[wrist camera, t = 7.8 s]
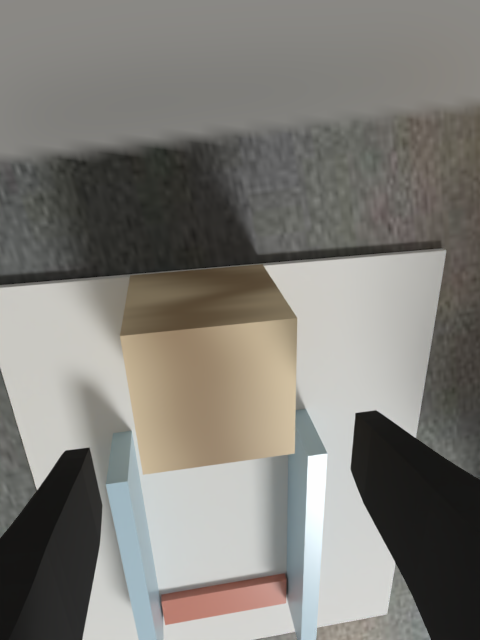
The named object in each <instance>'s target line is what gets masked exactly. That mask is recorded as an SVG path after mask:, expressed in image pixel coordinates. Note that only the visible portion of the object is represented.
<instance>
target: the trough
mask: <svg viewBox="0 0 480 640" xmlns="http://www.w3.org/2000/svg"><path fill="white" fill-rule="evenodd" d="M326 470H327V451H326V449H325V447H324V445H323V443H322V441H321V439H320V437H319V435H318V433H317V431H316V429H315V427H314V424H313V422H312V420H311V418H310V416H309V414H308V412H307V410H306V409H301V410H296V415H295V454H288V506H287V577H286V576H285V573H283V574H278V575H272V576H266V577H260V578H254V579H249V580H243V581H237V582H231V583H225V584H220V585H214V586H208V587H202V588H196V589H191V590H185V591H179V592H173V593H167V594H161V601H160V595H159V589H158V583H157V577H156V571H155V565H154V559H153V553H152V548H151V542H150V536H149V530H148V524H147V518H146V512H145V506H144V500H143V494H142V488H141V482H140V476H139V470H138V464H137V458H136V452H135V446H134V440H133V434H132V431H126V432H118V433H113V437H112V444H111V451H110V458H109V465H108V472H107V479H106V488H107V493H108V497H109V502H110V507H111V511H112V516H113V521H114V526H115V530H116V535H117V540H118V545H119V549H120V554H121V559H122V563H123V568H124V573H125V578H126V582H127V587H128V592H129V597H130V601H131V606H132V611H133V615H134V620H135V625H136V630H137V634H138V639H139V640H164V635H163V615H164V621H165V625H169V624H174V623H180V622H185V621H191V620H196V619H202V618H208V617H213V616H219V615H224V614H230V613H235V612H241V611H246V610H252V609H257V608H263V607H268V606H274V605H279V604H285V603H286V597H287V601H288V605H289V609H290V613H291V617H292V621H293V624H294V628H295V632H296V636H297V640H316V633H317V617H318V601H319V584H320V568H321V551H322V535H323V519H324V502H325V486H326ZM161 603H162V607H161ZM162 609H163V613H162Z"/></svg>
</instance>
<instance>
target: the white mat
mask: <svg viewBox="0 0 480 640" xmlns="http://www.w3.org/2000/svg"><path fill="white" fill-rule="evenodd" d="M446 251H447V250H445V249H443V248H440V249H428V250H416V251H404V252H392V253H380V254H368V255H356V256H344V257H332V258H320V259H308V260H296V261H284V262H272V263H260V264H263V266H264V267H265V269H266V270H267V272H268V274H269V275H270V277H271V278H272V280H273V281H274V283H275V284H276V286H277V287H278V289H279V290H280V292H281V294H282V295H283V297H284V298H285V300H286V301H287V303H288V304H289V306H290V307H291V309H292V310H293V312H294V314H295V315H296V317H297V365H296V410H301V409H306V410H307V412H308V414H309V416H310V418H311V420H312V422H313V424H314V427H315V429H316V431H317V433H318V435H319V437H320V439H321V441H322V443H323V445H324V447H325V449H326V451H327V470H326V486H325V502H324V519H323V535H322V551H321V568H320V584H319V601H318V617H317V627H323V626H328V625H333V624H338V623H344V622H349V621H354V620H360V619H365V618H370V617H375V616H381V615H386V614H387V611H388V605H389V599H390V593H391V587H392V581H393V575H394V568H395V561H394V559H393V557H392V555H391V554H390V552H389V550H388V548H387V546H386V544H385V543H384V541H383V539H382V537H381V535H380V533H379V531H378V530H377V528H376V526H375V524H374V522H373V520H372V518H371V517H370V515H369V513H368V511H367V509H366V507H365V505H364V503H363V501H362V498H361V496H360V493H359V491H358V488H357V486H356V483H355V480H354V478H353V475H352V472H351V470H350V468H351V457H352V446H353V435H354V424H355V413H359V412H367V411H375V410H377V411H378V412H380V413H381V414H383V415H384V416H386V417H387V418H388V419H390V420H391V421H393V422H394V423H395V424H397V425H398V426H400V427H401V428H402V429H404V430H405V431H406V432H408V433H409V434H411V435H412V436H413V437H415V438H416V434H417V428H418V422H419V416H420V410H421V403H422V397H423V391H424V385H425V379H426V373H427V367H428V361H429V355H430V348H431V342H432V336H433V330H434V324H435V318H436V312H437V306H438V299H439V293H440V287H441V281H442V275H443V269H444V263H445V257H446ZM260 264H248V265H260ZM248 265H236V266H248ZM236 266H224V267H236ZM224 267H212V268H200V269H188V270H176V271H164V272H152V273H140V274H128V275H116V276H104V277H92V278H80V279H68V280H56V281H44V282H32V283H20V284H8V285H0V368H1V372H2V375H3V378H4V382H5V385H6V388H7V392H8V395H9V398H10V402H11V405H12V408H13V412H14V415H15V418H16V422H17V425H18V428H19V432H20V435H21V438H22V442H23V445H24V448H25V452H26V455H27V458H28V462H29V465H30V468H31V472H32V475H33V478H34V482H35V485H36V489H37V490H38V488H39V487H40V486H41V484H42V483H43V481H44V480H45V479H46V477H47V476H48V474H49V473H50V471H51V470H52V468H53V467H54V465H55V464H56V462H57V461H58V459H59V458H60V456H61V455H62V454H63V453H64V452H65V451H66V450H73V449H81V448H89V447H90V451H91V455H92V460H93V465H94V469H95V474H96V478H97V483H98V487H99V492H100V496H101V501H102V505H103V507H102V523H101V537H100V547H99V553H98V558H97V564H96V569H95V574H94V580H93V585H92V590H91V596H90V601H89V606H88V612H87V617H86V622H85V628H84V633H83V639H82V640H139V639H138V634H137V630H136V625H135V620H134V615H133V611H132V606H131V601H130V597H129V592H128V587H127V582H126V578H125V573H124V568H123V563H122V559H121V554H120V549H119V545H118V540H117V535H116V530H115V526H114V521H113V516H112V511H111V507H110V502H109V497H108V493H107V488H106V479H107V472H108V465H109V458H110V451H111V444H112V437H113V433H118V432H126V431H132V434H133V440H134V446H135V452H136V458H137V464H138V470H139V476H140V482H141V488H142V494H143V500H144V506H145V512H146V518H147V524H148V530H149V536H150V542H151V548H152V553H153V559H154V565H155V571H156V577H157V583H158V589H159V595H160V601H161V594H167V593H173V592H179V591H185V590H191V589H196V588H202V587H208V586H214V585H220V584H225V583H231V582H237V581H243V580H249V579H254V578H260V577H266V576H272V575H278V574H283V573H285V576H286V577H287V506H288V455H281V456H274V457H267V458H260V459H253V460H245V461H238V462H231V463H224V464H217V465H210V466H202V467H195V468H188V469H181V470H174V471H167V472H160V473H152V474H145V475H143V472H142V466H141V460H140V454H139V448H138V442H137V436H136V430H135V424H134V418H133V412H132V406H131V400H130V394H129V388H128V382H127V376H126V370H125V364H124V358H123V352H122V346H121V340H120V332H121V327H122V321H123V315H124V309H125V303H126V298H127V292H128V286H129V280H130V275H142V274H154V273H166V272H177V271H189V270H201V269H213V268H224ZM161 607H162V603H161ZM162 613H163V609H162ZM291 632H295V628H294V624H293V621H292V617H291V613H290V609H289V605H288V601H287V597H286V603H285V604H279V605H274V606H268V607H263V608H257V609H252V610H246V611H241V612H235V613H230V614H224V615H219V616H213V617H208V618H202V619H196V620H191V621H185V622H180V623H174V624H169V625H165V621H164V615H163V635H164V640H254V639H259V638H264V637H270V636H275V635H280V634H286V633H291Z"/></svg>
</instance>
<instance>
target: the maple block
mask: <svg viewBox="0 0 480 640" xmlns="http://www.w3.org/2000/svg"><path fill="white" fill-rule="evenodd" d="M120 340H121V346H122V352H123V358H124V364H125V370H126V376H127V382H128V388H129V394H130V400H131V406H132V412H133V418H134V424H135V430H136V436H137V442H138V448H139V454H140V460H141V466H142V472H143V475H145V474H152V473H160V472H167V471H174V470H181V469H188V468H195V467H202V466H210V465H217V464H224V463H231V462H238V461H245V460H253V459H260V458H267V457H274V456H281V455H288V454H295V415H296V365H297V317H296V315H295V314H294V312H293V310H292V309H291V307H290V306H289V304H288V303H287V301H286V300H285V298H284V297H283V295H282V294H281V292H280V290H279V289H278V287H277V286H276V284H275V283H274V281H273V280H272V278H271V277H270V275H269V274H268V272H267V270H266V269H265V267H264V266H263V264H260V265H248V266H236V267H224V268H213V269H201V270H189V271H177V272H166V273H154V274H142V275H130V280H129V286H128V292H127V298H126V303H125V309H124V315H123V321H122V327H121V332H120Z"/></svg>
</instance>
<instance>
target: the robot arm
mask: <svg viewBox="0 0 480 640" xmlns="http://www.w3.org/2000/svg"><path fill="white" fill-rule="evenodd" d="M350 470H351V472H352V475H353V478H354V480H355V483H356V486H357V488H358V491H359V493H360V496H361V498H362V501H363V503H364V505H365V507H366V509H367V511H368V513H369V515H370V517H371V518H372V520H373V522H374V524H375V526H376V528H377V530H378V531H379V533H380V535H381V537H382V539H383V541H384V543H385V544H386V546H387V548H388V550H389V552H390V554H391V555H392V557H393V559H394V561H395V563H396V565H397V566H398V568H399V570H400V572H401V574H402V576H403V577H404V579H405V581H406V584H407V586H408V588H409V590H410V592H411V594H412V596H413V598H414V600H415V603H416V605H417V607H418V610H419V612H420V614H421V617H422V619H423V621H424V624H425V626H426V628H427V631H428V633H429V635H430V638H431V640H480V480H479V479H477V478H476V477H474V476H473V475H471V474H469V473H468V472H466V471H464V470H463V469H461V468H459V467H458V466H456V465H455V464H453V463H452V462H450V461H448V460H447V459H445V458H444V457H442V456H441V455H439V454H438V453H436V452H435V451H433V450H432V449H431V448H429V447H428V446H426V445H425V444H423V443H422V442H420V441H419V440H418V439H416V438H415V437H413V436H412V435H411V434H409V433H408V432H406V431H405V430H404V429H402V428H401V427H400V426H398V425H397V424H395V423H394V422H393V421H391V420H390V419H388V418H387V417H386V416H384V415H383V414H381V413H380V412H378V411H377V410H375V411H367V412H359V413H355V424H354V435H353V446H352V457H351V468H350ZM102 507H103V505H102V501H101V496H100V492H99V487H98V483H97V478H96V474H95V469H94V465H93V460H92V455H91V451H90V447H89V448H81V449H73V450H66V451H65V452H64V453H63V454H62V455H61V456H60V458H59V459H58V461H57V462H56V464H55V465H54V467H53V468H52V470H51V471H50V473H49V474H48V476H47V477H46V479H45V480H44V481H43V483H42V484H41V486H40V487H39V488H38V490H37V491H36V493H35V494H34V495H33V497H32V498H31V499H30V501H29V502H28V504H27V505H26V506H25V508H24V509H23V510H22V512H21V513H20V514H19V516H18V517H17V518H16V520H15V521H14V522H13V523H12V525H11V526H10V527H9V528H8V530H7V531H6V532H5V533H4V534H3V536H2V537H1V538H0V640H82V639H83V633H84V628H85V622H86V617H87V612H88V606H89V601H90V596H91V590H92V585H93V580H94V574H95V569H96V564H97V558H98V553H99V547H100V537H101V523H102Z"/></svg>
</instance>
